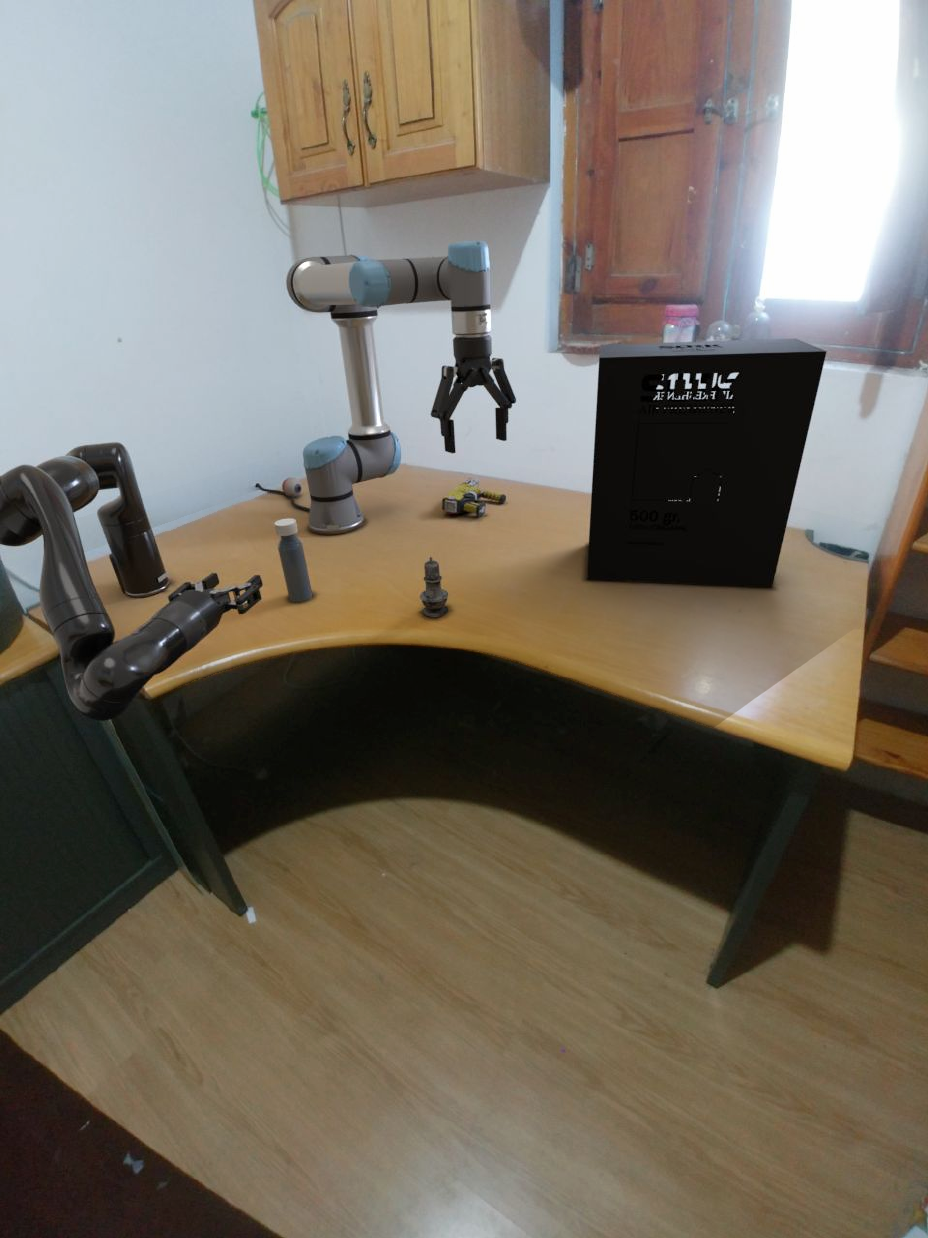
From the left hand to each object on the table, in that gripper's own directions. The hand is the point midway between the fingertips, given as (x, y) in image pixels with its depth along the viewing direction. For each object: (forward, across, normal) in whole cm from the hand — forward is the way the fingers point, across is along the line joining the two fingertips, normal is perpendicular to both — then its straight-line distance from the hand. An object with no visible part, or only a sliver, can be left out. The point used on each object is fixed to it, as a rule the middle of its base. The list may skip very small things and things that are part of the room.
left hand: (237, 578), depth 108 cm
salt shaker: (+18, -31, +14) cm, 39 cm away
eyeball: (+86, +33, +13) cm, 93 cm away
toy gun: (+82, -28, +14) cm, 88 cm away
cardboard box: (+45, -80, +14) cm, 93 cm away
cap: (+20, 0, -3) cm, 20 cm away
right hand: (+40, -37, -14) cm, 56 cm away
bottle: (+20, 0, +14) cm, 25 cm away
